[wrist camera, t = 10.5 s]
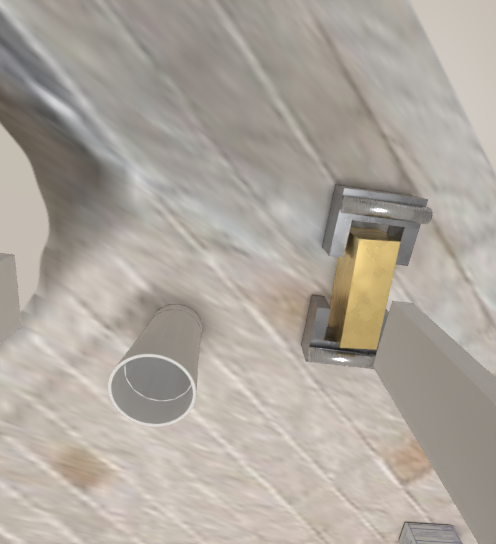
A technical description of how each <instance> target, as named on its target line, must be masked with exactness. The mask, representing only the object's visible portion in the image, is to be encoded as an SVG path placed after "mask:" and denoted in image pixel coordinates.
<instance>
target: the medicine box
mask: <svg viewBox="0 0 496 544" xmlns="http://www.w3.org/2000/svg"><path fill="white" fill-rule="evenodd" d="M399 542H400V544H463V543H462V542H461V540H460V538H459V536H458V534H457V533H456V531H455V529H454V527H453V526H452V525H437V524H419V523H405V525H404V528H403V531H402V533H401V536H400V539H399Z"/></svg>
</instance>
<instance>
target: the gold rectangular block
mask: <svg viewBox="0 0 496 544" xmlns="http://www.w3.org/2000/svg"><path fill="white" fill-rule="evenodd" d="M399 246H400V241H398V240H396V239H395V238H393V237H391V236H390V235H388V234H386V233H384V232H383V231H381V230H379V229H373V228H357V227H350V231H349V235H348V240H347V244H346V248H345V252H344V257H343V258H342V257H338V260H337V267H336V273H335V279H334V285H333V291H332V298H331V304H330V308H331V311H330V316H329V320H328V324H329V326H330V328H331V330H332V332H333V334H334V336H335V338H336V341H337V343H338V345H339V347H340V348H356V349H374V350H377V346H378V341H379V337H380V332H381V328H382V323H383V318H384V314H385V309H386V305H387V300H388V296H389V291H390V287H391V282H392V278H393V273H394V269H395V264H396V260H397V255H398V251H399Z"/></svg>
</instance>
